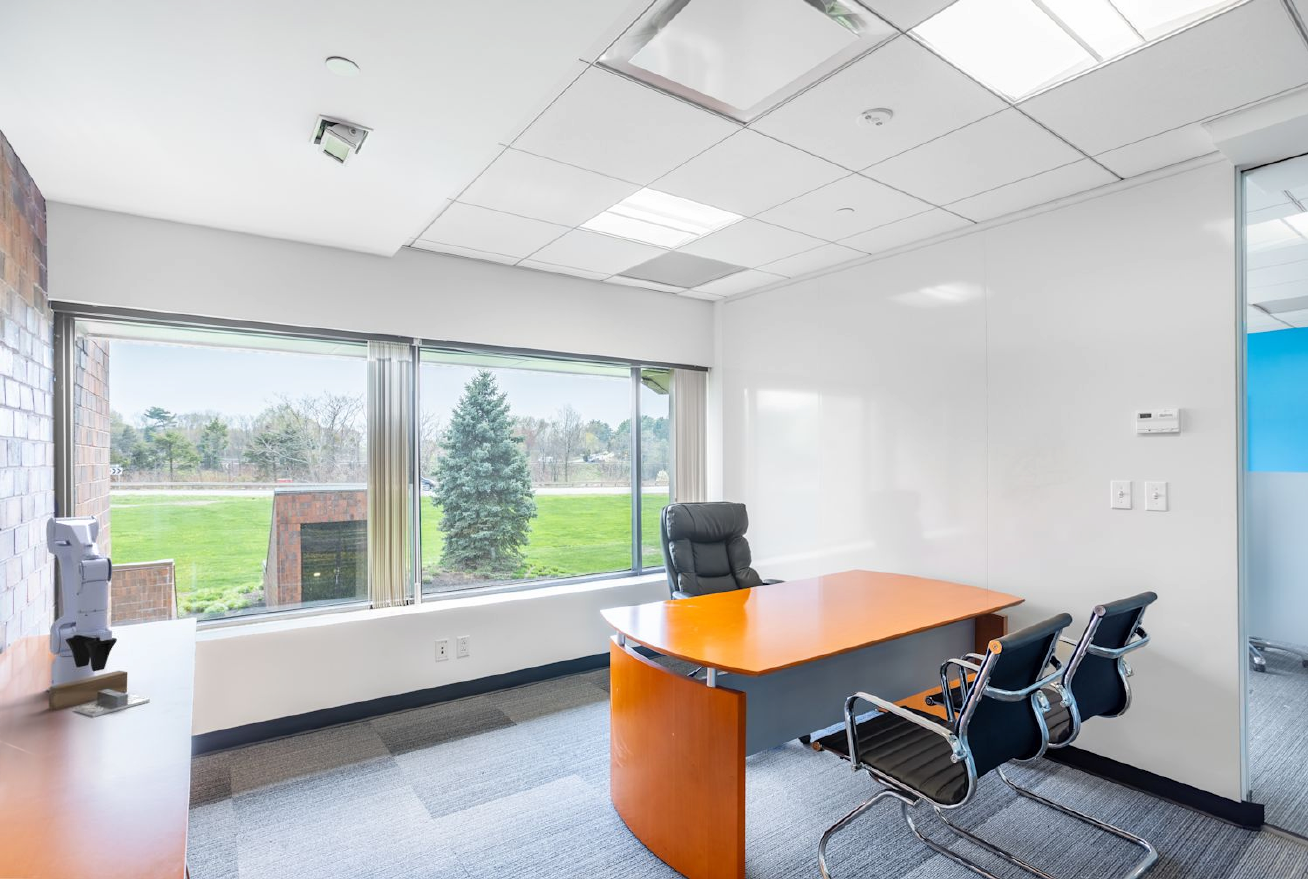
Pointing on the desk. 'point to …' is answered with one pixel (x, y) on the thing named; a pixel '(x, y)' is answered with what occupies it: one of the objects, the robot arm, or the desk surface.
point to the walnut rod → (85, 689)
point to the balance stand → (110, 703)
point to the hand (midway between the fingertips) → (90, 668)
